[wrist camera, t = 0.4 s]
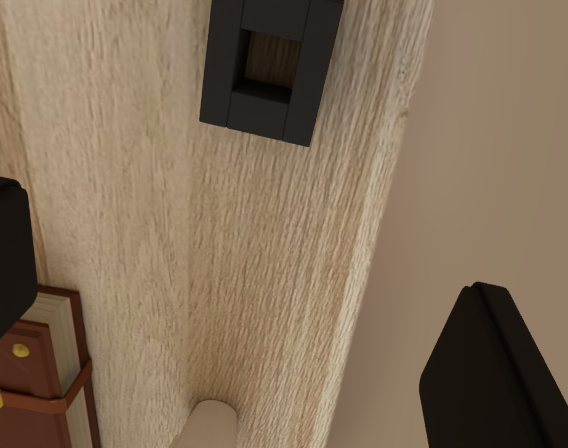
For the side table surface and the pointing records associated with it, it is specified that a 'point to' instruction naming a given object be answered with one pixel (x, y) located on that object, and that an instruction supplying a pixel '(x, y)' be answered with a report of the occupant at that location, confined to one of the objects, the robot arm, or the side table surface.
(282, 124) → the small black rectangular frame
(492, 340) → the robot arm
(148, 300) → the side table surface
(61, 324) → the book
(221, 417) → the white ribbed cylinder
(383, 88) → the side table surface
